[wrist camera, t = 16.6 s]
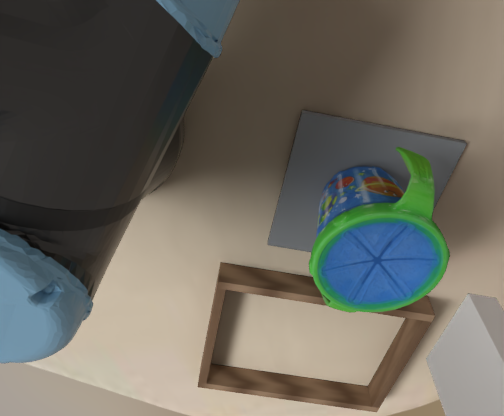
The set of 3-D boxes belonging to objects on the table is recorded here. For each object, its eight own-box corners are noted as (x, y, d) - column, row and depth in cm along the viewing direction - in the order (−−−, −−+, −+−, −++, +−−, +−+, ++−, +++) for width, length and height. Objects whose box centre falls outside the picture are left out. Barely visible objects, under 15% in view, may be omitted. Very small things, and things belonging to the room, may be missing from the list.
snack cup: (357, 269, 48) (376, 346, 40) (272, 233, 46) (272, 306, 37) (456, 156, 40) (505, 222, 32) (358, 104, 38) (384, 161, 29)
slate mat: (267, 241, 47) (267, 244, 47) (302, 109, 39) (302, 112, 38) (402, 263, 48) (404, 267, 48) (464, 140, 40) (466, 143, 39)
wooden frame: (200, 367, 60) (197, 387, 57) (220, 262, 49) (218, 281, 47) (372, 391, 62) (376, 412, 59) (427, 295, 51) (435, 315, 48)
